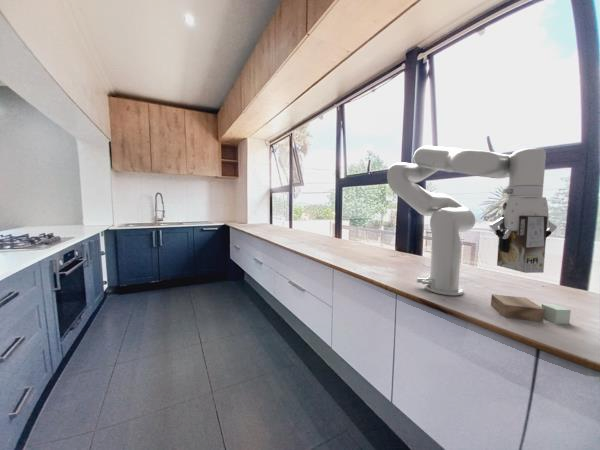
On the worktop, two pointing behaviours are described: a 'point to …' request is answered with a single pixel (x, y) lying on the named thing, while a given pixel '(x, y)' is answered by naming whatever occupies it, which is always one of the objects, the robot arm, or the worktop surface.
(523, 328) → the worktop surface
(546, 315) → the cube
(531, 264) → the coffee box
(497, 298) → the base block
